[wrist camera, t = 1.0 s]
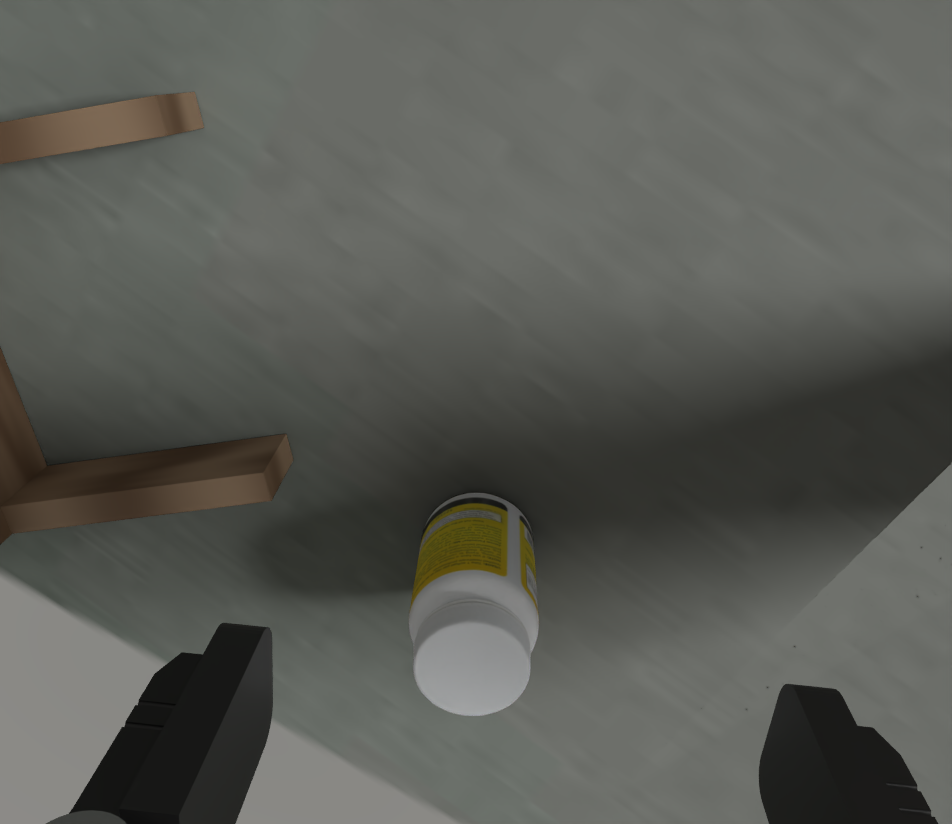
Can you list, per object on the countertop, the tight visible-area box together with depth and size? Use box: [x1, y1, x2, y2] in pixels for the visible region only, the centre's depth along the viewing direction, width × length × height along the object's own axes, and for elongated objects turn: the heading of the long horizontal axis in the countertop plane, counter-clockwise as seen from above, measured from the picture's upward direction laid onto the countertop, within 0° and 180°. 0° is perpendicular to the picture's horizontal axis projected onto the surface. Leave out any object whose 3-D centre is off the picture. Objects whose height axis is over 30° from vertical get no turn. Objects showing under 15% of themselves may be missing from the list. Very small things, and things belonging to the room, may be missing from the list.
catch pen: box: [0, 92, 293, 545], centre depth 30 cm, size 12×14×5 cm
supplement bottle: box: [409, 493, 539, 716], centre depth 32 cm, size 5×5×8 cm
